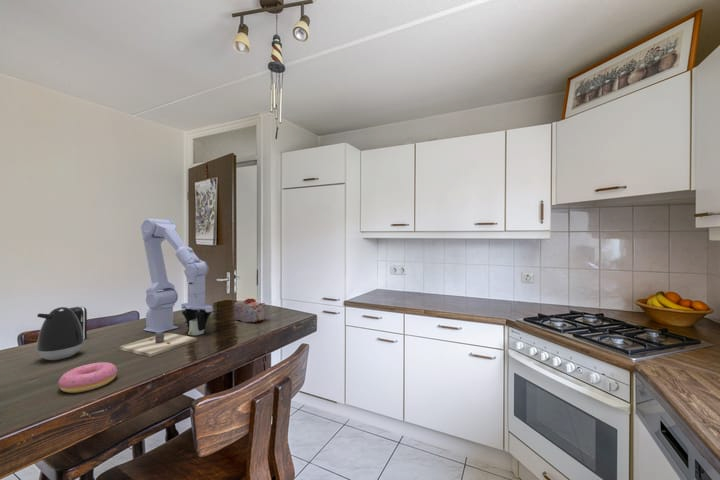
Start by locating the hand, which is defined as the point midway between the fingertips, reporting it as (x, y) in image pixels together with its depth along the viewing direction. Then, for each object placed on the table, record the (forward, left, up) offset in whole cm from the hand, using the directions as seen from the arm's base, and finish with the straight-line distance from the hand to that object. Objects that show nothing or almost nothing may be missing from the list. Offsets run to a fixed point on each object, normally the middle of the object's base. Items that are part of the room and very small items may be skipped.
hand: (196, 329), depth 115 cm
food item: (+5, +22, -2) cm, 23 cm away
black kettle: (-17, -33, -2) cm, 37 cm away
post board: (0, -14, -2) cm, 14 cm away
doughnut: (+12, -39, -2) cm, 41 cm away
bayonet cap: (0, 0, -2) cm, 2 cm away
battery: (-34, -22, -2) cm, 41 cm away
